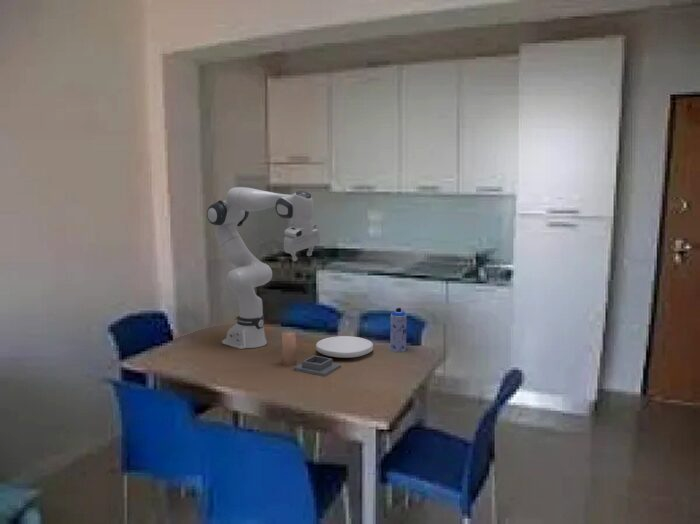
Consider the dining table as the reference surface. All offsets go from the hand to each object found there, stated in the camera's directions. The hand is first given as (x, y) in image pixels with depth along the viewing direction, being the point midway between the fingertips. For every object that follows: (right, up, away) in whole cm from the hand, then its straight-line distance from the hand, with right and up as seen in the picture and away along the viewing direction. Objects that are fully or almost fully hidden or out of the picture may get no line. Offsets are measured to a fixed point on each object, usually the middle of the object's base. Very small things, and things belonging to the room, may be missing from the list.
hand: (302, 258), depth 266 cm
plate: (+19, -44, +11) cm, 50 cm away
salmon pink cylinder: (-5, -47, -5) cm, 47 cm away
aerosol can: (+44, -43, +15) cm, 64 cm away
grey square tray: (+7, -48, -11) cm, 49 cm away
